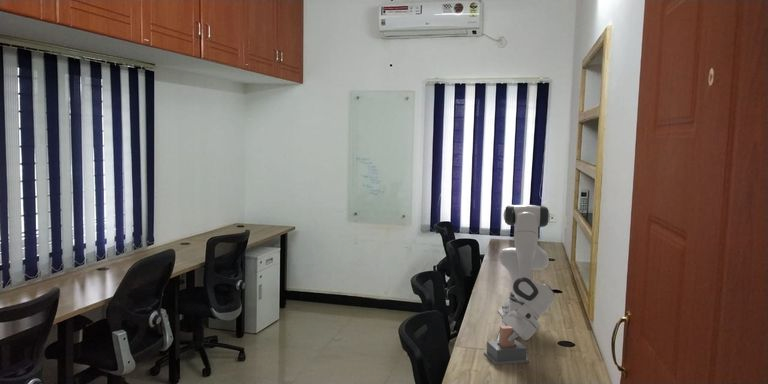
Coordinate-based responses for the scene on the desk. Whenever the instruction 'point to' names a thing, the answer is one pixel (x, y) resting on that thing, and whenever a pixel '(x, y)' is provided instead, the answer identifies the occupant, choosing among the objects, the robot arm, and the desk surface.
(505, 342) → the salmon pink rectangular block
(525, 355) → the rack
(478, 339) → the desk surface
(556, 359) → the desk surface
